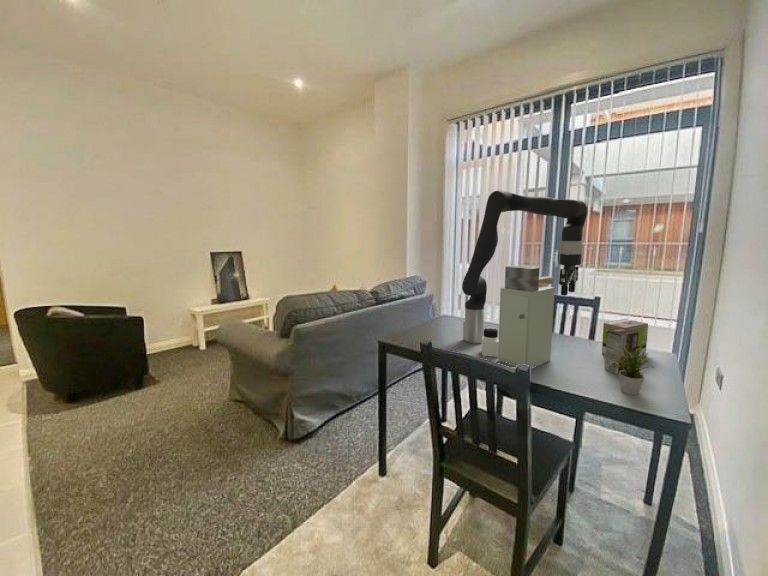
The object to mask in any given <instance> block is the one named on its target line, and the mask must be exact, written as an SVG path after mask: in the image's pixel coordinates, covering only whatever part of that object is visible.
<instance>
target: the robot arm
mask: <svg viewBox="0 0 768 576" xmlns="http://www.w3.org/2000/svg"><path fill="white" fill-rule="evenodd" d="M514 211H518V212H527V213H531V214H534V215H539V216H541V215H542V216H546V217H547V216H548V217H557V218H562V219H566V224H565V225H564V226H563V227H562V230H561V241H560V246H559V263H558V264H559V265H560V266H563V268H559V278H558V279H559V280H558V285H559V286H561V288H560V295H561V296H568V293H574V292H575V291H576V283H577V281H579V266H580V265H581V264H582V256H583V254H582V253H583V230H584V226H585V223H586V220H587V215H588V207H587V204H586V202H584V201H583V200H580V199H565V198H563V199H562V198H555V197H548V196H547V197H546V196H525V195H519V194H516V193H512V192H511V191H508V190H507V191H506V190H494V191H492V192H490V194H489V196H488V198H487V200H486V205H485V211H484V215H483V220H482V224H481V227H480V230H479V234H478V237H477V241H476V243H475V246H474V251H473V254H472V257H471V260H470V263H469V266H468V268H467V271H466V273H465V276H464V277H463V281H462V284H461V286H462V287H461V290H462V293H463V294H464V295H465V296H468V297H469V298H468V300H467V301H466V302H465V304H464V321H463V323H462V325H463V326H462V339H463V341H464V342H466V343H468V344H482V337H484V319H485V317H484V316H485V304H486V302H487V291H488V283H487V281H486V279H485V277H483V276H481V275H482V273H483V271H484V269H485V268H486V266H487V265H488V264H489V263H490V262H491V260H492V258H493V257H494V255H495V252H496V250H497V249H496V248H497V246H498V243H499V235H498V223H499V220H500V217H501V214H502V213H505V212H514Z"/></svg>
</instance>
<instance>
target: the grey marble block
mask: <svg viewBox="0 0 768 576" xmlns="http://www.w3.org/2000/svg"><path fill="white" fill-rule="evenodd" d="M504 273H505V277H504V287H505V288H509V289H515V290H522V291H529V292H532V291H537V290H538V287H539V286H549V285H553V284H554V276H547V275H546V276H542V277H540V267H532V266H524V265H523V266H522V265H521V266H520V265H508V266H505V271H504Z"/></svg>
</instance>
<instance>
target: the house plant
mask: <svg viewBox="0 0 768 576" xmlns="http://www.w3.org/2000/svg"><path fill="white" fill-rule="evenodd" d="M617 345H618V344H617ZM619 346H620V345H619ZM620 347H621V346H620ZM621 348H622V347H621ZM641 349H643V348H642V346H640V347H639V348H637V349H636V351H635V352H634V354H633V358H632V357H631V355H630V353H629V352H628V351H627V350H626V349H623V348H622V350H623V352H624V355H625V356H626V357H625V356H623V355H622V356H623V358H624V359H625V360H626V362H627V363H625V362H623V361H624V360H623V359H621V358H620V357H621V356H620V355H619V354H620V353H619V354H618V355H619V356H620V357H618V356H617V357H618V358H619V359H620V360H616V359H610V360H613V361H616V362H618V363H620V364H622V365H623V366H624V367H623V366H621V365H618V364H614V365H612V366H615V367H614V368H618V367H623V368H624V369H625V370H624V369H623V370H622V371H620V372H619V374H618V375H619V385H620V391H621V392H623V393H624V394H627V395H632V396H636V395H639V394H640V392H641V389H642V385H643V382H644V379H645V376H644V372H641V371H642V370H644V369H647V368H648V366H645V367H642V366H643V365H644V364H645V363H647V362H648V361H650V360H652V359H653V357H651V358H649V359H647V360H646V358H647V356H648V355H649V352H646V355H644V354H645V351H644V352H643V353H642V355H641V356H639V353H640V351H641ZM609 350H611V349H609ZM613 351H614V350H613ZM625 351H626V352H625ZM616 352H617V351H616ZM614 353H615V352H614ZM626 353H627V354H626ZM627 356H628V357H627ZM638 356H639V357H638ZM622 360H623V361H622ZM611 362H612V361H611ZM641 367H642V368H641ZM640 368H641V369H640ZM652 368H653V369H656V368H655V367H654V366H652Z"/></svg>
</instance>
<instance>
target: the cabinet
mask: <svg viewBox="0 0 768 576" xmlns="http://www.w3.org/2000/svg"><path fill="white" fill-rule="evenodd" d="M555 291H556V290H555V287H554V286H548V285H544V286H539V287H538V290H537V291H532V292H529V291H522V290H515V289H509V288H505V286H504V287H500V293H499V294H500V295H499V297H500V300H499V319H498V320H499V323H498V324H499V325H498V326H499V327H498V328H499V329H498V340H499V349H498V357H497V358H498V359H497V361H498V360H500V361H499V362H501V361H503V362H502V363H504V362H507V363H510V364H511V365H510V364H509V365H510V366H513V367H516V365H518V364H526V365H529V366H530V367H531V368H532V367H535V366H537V367H539V366H541V365H544V364H546V363H548V362H550V361H551V358H552V357H551V356H552V354H551V353H552V339H553V337H552V335H553V322H554V306H555V305H554V304H555ZM547 361H548V362H547ZM545 362H546V363H545ZM507 363H506V364H507ZM543 363H544V364H543ZM540 364H541V365H540ZM538 365H539V366H538ZM535 368H536V367H535ZM532 369H533V368H532Z"/></svg>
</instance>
